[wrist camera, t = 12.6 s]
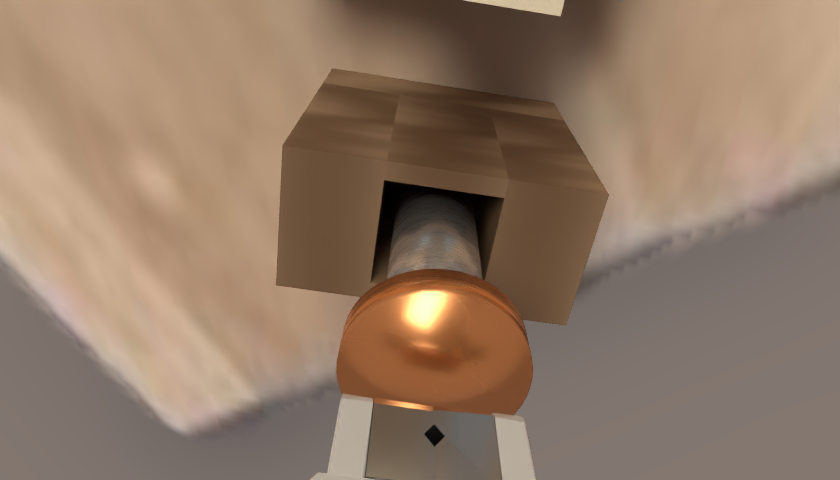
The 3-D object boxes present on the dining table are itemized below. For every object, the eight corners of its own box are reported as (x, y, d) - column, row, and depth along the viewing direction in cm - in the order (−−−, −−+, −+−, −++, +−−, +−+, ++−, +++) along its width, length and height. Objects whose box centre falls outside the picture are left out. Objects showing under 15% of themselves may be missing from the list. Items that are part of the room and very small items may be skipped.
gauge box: (553, 103, 22) (608, 194, 15) (527, 202, 24) (565, 325, 17) (332, 68, 22) (282, 145, 15) (324, 172, 23) (275, 285, 16)
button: (511, 163, 16) (554, 308, 10) (484, 275, 18) (508, 455, 12) (378, 143, 16) (346, 279, 10) (364, 258, 18) (328, 432, 12)
